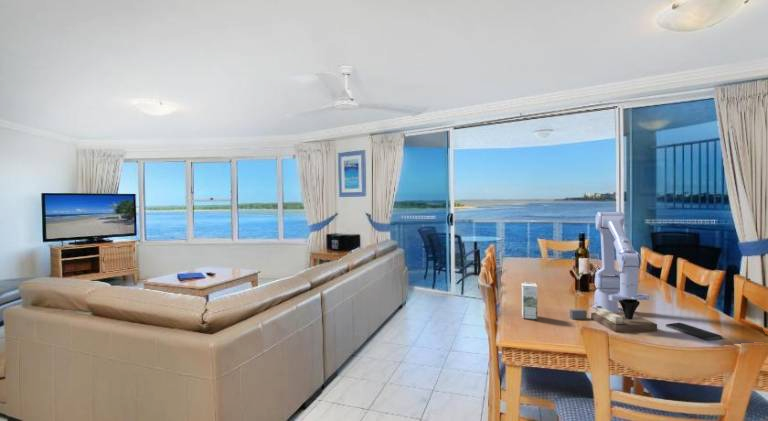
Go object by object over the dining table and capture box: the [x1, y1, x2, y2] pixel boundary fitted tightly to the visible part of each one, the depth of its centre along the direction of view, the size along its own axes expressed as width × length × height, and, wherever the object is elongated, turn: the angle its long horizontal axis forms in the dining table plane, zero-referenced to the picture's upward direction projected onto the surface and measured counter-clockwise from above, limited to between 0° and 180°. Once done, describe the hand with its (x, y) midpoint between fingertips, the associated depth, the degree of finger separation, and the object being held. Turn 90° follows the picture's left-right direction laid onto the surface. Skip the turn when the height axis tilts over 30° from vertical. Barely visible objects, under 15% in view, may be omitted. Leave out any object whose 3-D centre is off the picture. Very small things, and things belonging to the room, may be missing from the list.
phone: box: [665, 322, 723, 342], centre depth 133 cm, size 8×1×15 cm
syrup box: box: [521, 282, 538, 321], centre depth 152 cm, size 6×6×14 cm
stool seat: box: [590, 311, 658, 333], centre depth 142 cm, size 15×16×2 cm
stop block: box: [569, 308, 588, 320], centre depth 150 cm, size 2×6×4 cm, turn 91°
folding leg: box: [595, 306, 623, 324], centre depth 142 cm, size 13×2×3 cm, turn 1°
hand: (628, 318), depth 138 cm, fingers closed
